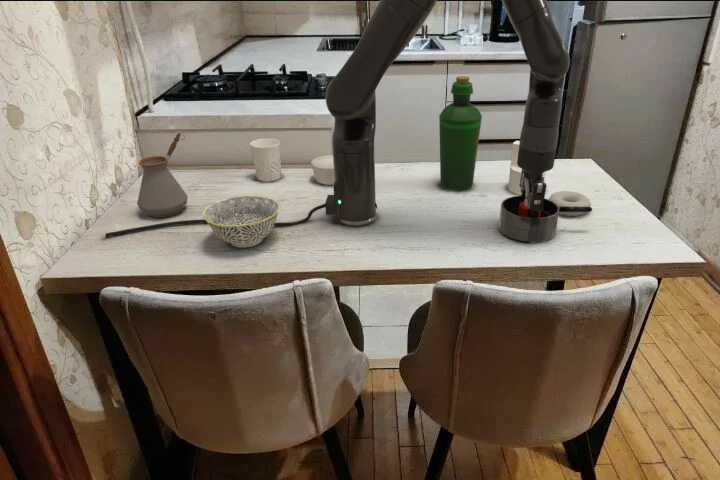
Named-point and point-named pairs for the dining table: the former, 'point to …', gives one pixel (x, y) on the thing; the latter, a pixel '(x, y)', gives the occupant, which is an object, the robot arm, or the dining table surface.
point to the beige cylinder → (266, 159)
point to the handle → (575, 209)
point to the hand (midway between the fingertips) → (527, 216)
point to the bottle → (459, 138)
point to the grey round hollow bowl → (528, 221)
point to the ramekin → (323, 169)
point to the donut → (570, 201)
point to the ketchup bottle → (525, 208)
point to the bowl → (242, 219)
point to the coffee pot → (160, 186)
